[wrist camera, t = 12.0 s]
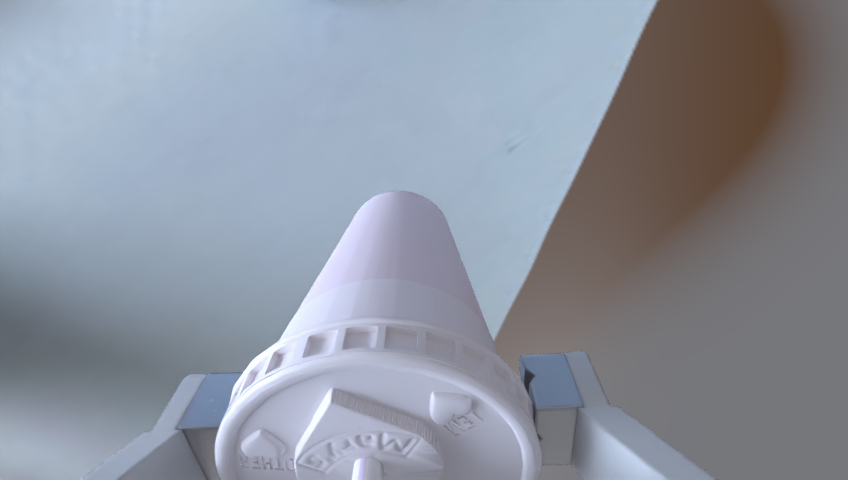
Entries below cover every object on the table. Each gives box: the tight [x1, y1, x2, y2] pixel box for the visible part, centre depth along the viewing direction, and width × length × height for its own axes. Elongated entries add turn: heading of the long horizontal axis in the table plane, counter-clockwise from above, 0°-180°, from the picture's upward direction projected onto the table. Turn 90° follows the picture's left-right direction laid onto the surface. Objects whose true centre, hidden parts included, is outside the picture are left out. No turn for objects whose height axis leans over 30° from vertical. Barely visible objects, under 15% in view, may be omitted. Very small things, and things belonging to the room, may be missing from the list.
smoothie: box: [214, 191, 542, 480], centre depth 11 cm, size 6×6×14 cm
